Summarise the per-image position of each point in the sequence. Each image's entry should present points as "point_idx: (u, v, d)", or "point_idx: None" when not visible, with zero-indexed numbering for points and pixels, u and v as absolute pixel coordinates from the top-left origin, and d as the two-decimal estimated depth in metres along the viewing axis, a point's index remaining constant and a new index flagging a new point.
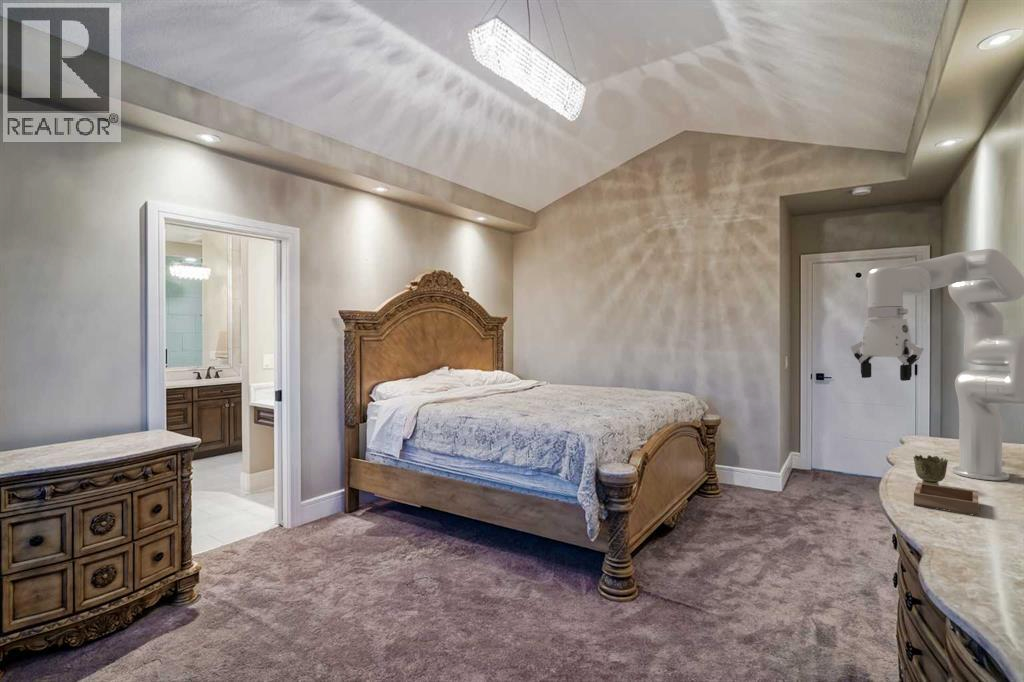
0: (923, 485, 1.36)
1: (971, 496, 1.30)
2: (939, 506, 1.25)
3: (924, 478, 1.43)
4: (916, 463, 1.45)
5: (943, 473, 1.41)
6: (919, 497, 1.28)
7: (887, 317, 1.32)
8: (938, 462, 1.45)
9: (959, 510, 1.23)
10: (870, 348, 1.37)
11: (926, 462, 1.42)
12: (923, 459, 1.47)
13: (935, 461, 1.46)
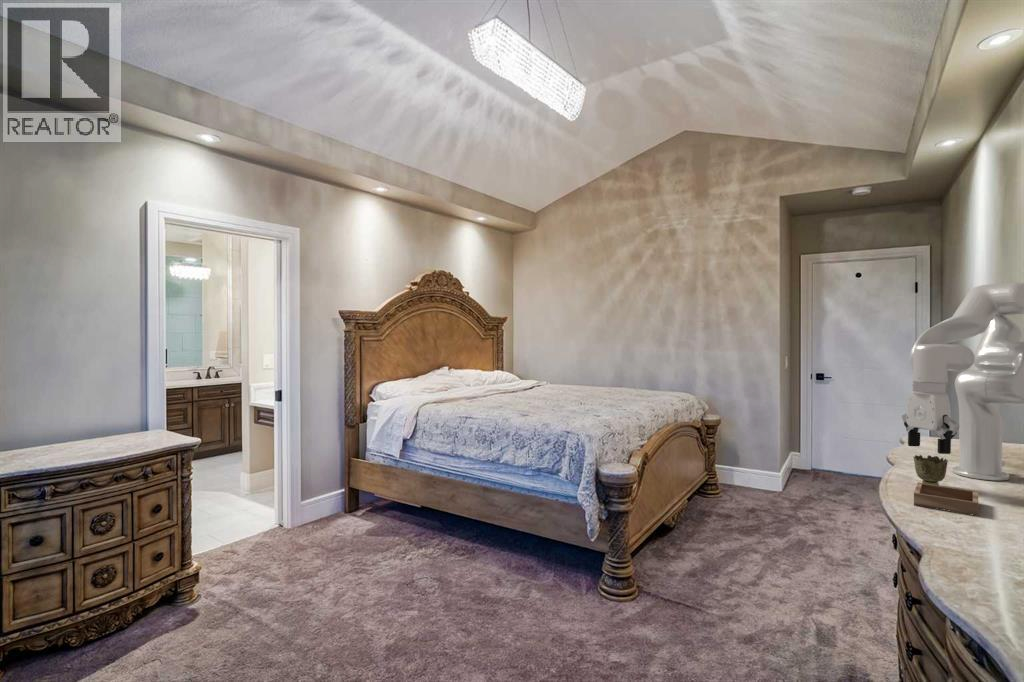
0: (923, 485, 1.36)
1: (971, 496, 1.30)
2: (939, 506, 1.25)
3: (924, 478, 1.43)
4: (916, 463, 1.45)
5: (943, 473, 1.41)
6: (919, 497, 1.28)
7: None
8: (938, 462, 1.45)
9: (959, 510, 1.23)
10: None
11: (926, 462, 1.42)
12: (923, 459, 1.47)
13: (935, 461, 1.46)
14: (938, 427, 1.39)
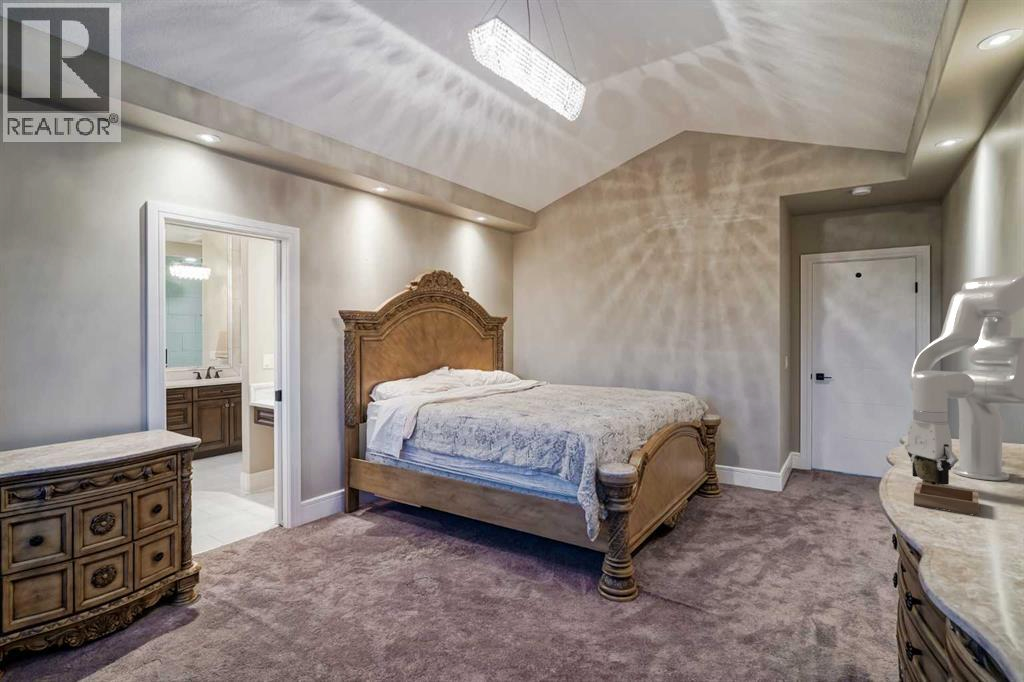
0: (923, 485, 1.36)
1: (971, 496, 1.30)
2: (939, 506, 1.25)
3: (924, 478, 1.43)
4: (916, 463, 1.45)
5: None
6: (919, 497, 1.28)
7: None
8: None
9: (959, 510, 1.23)
10: None
11: (926, 462, 1.42)
12: (923, 459, 1.47)
13: None
14: (939, 457, 1.39)
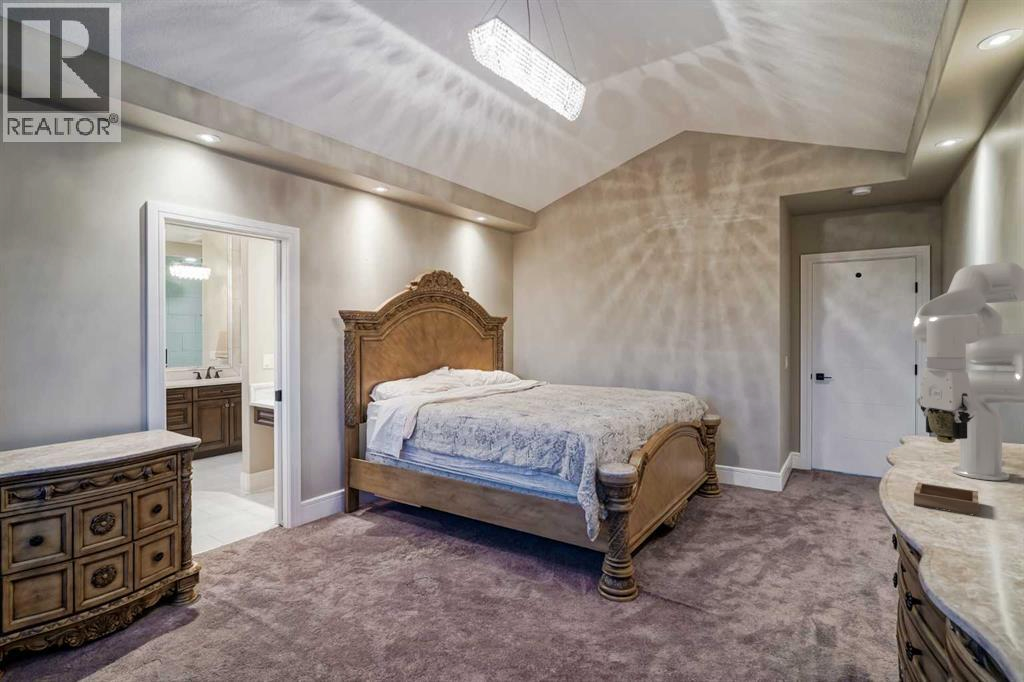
0: (923, 485, 1.36)
1: (971, 496, 1.30)
2: (939, 506, 1.25)
3: (939, 433, 1.28)
4: (930, 416, 1.29)
5: None
6: (919, 497, 1.28)
7: None
8: None
9: (959, 510, 1.23)
10: None
11: (942, 414, 1.27)
12: (937, 413, 1.32)
13: (951, 415, 1.31)
14: (957, 407, 1.24)
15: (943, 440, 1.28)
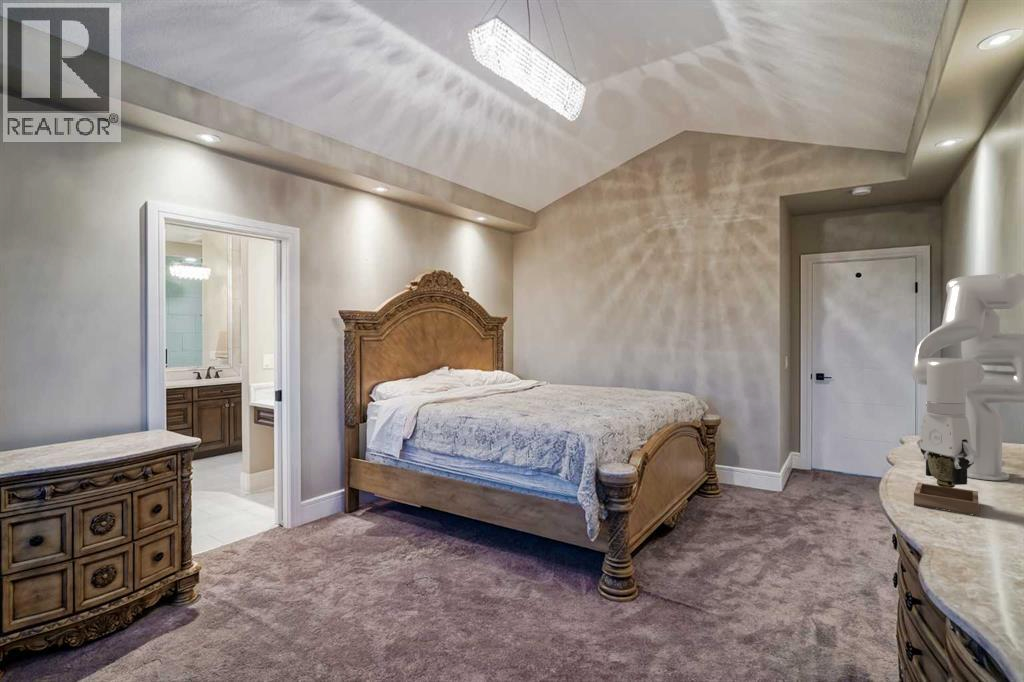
0: (923, 485, 1.36)
1: (971, 496, 1.30)
2: (939, 506, 1.25)
3: (939, 477, 1.28)
4: (930, 461, 1.29)
5: None
6: (919, 497, 1.28)
7: None
8: None
9: (959, 510, 1.23)
10: None
11: (942, 459, 1.27)
12: (937, 456, 1.32)
13: (951, 458, 1.31)
14: (957, 453, 1.24)
15: (943, 485, 1.28)
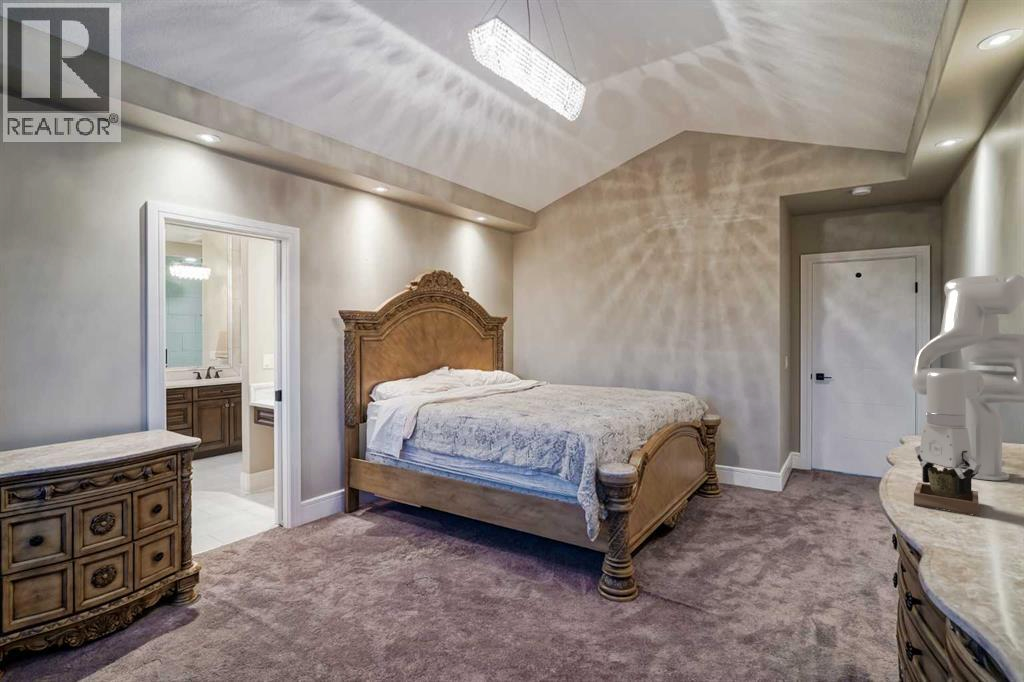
0: (923, 485, 1.36)
1: (971, 496, 1.30)
2: (939, 506, 1.25)
3: (940, 493, 1.28)
4: (931, 477, 1.29)
5: None
6: (919, 497, 1.28)
7: None
8: (955, 475, 1.30)
9: (959, 510, 1.23)
10: None
11: (943, 475, 1.27)
12: (938, 472, 1.32)
13: (952, 474, 1.31)
14: (957, 465, 1.24)
15: None
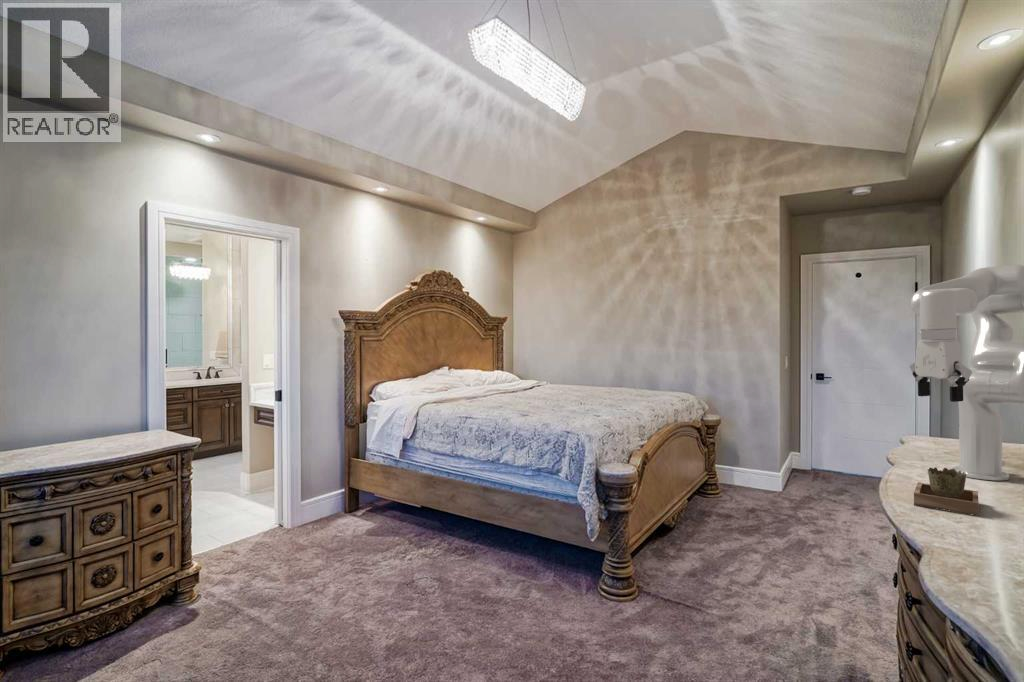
0: (923, 485, 1.36)
1: (971, 496, 1.30)
2: (939, 506, 1.25)
3: (940, 493, 1.28)
4: (931, 477, 1.29)
5: (961, 488, 1.26)
6: (919, 497, 1.28)
7: None
8: (955, 475, 1.30)
9: (959, 510, 1.23)
10: None
11: (943, 475, 1.27)
12: (938, 472, 1.32)
13: (952, 474, 1.31)
14: (949, 374, 1.34)
15: None
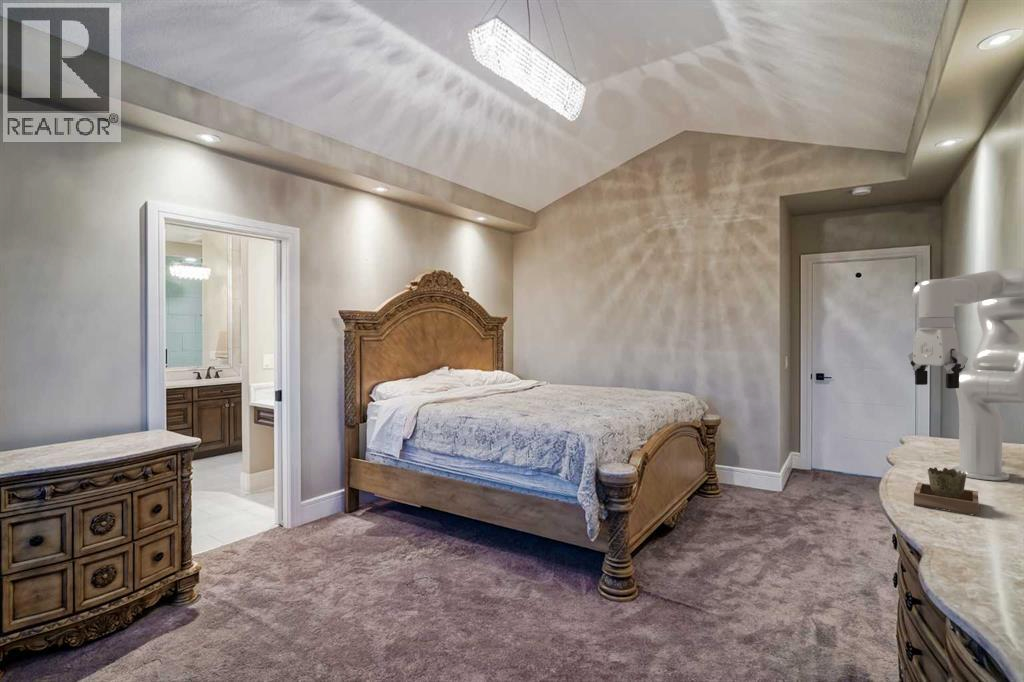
0: (923, 485, 1.36)
1: (971, 496, 1.30)
2: (939, 506, 1.25)
3: (940, 493, 1.28)
4: (931, 477, 1.29)
5: (961, 488, 1.26)
6: (919, 497, 1.28)
7: None
8: (955, 475, 1.30)
9: (959, 510, 1.23)
10: None
11: (943, 475, 1.27)
12: (938, 472, 1.32)
13: (952, 474, 1.31)
14: (946, 361, 1.36)
15: None
